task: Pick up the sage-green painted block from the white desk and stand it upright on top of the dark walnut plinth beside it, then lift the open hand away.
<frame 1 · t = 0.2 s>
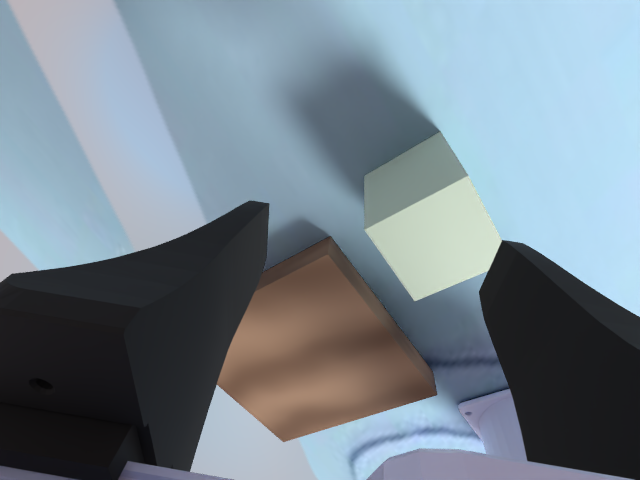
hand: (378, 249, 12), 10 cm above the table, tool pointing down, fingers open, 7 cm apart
walnut plinth: (304, 345, 28), on the table
sage block: (420, 187, 21), on the table
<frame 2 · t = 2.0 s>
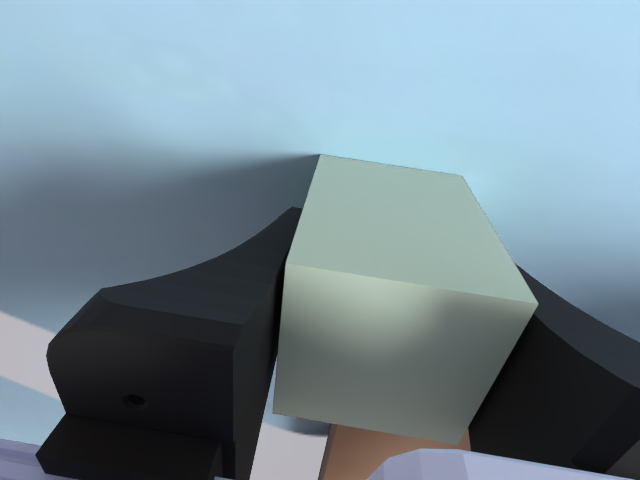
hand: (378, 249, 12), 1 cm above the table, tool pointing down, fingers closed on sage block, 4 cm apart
walnut plinth: (459, 460, 20), on the table
sage block: (376, 226, 13), on the table, touching gripper
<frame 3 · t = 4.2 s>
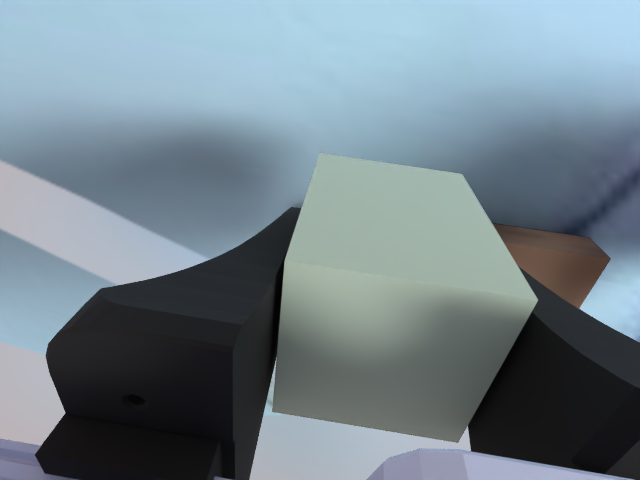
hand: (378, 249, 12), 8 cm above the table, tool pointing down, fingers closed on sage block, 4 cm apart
walnut plinth: (424, 314, 24), on the table
sage block: (376, 225, 13), point 7 cm above the table, touching gripper
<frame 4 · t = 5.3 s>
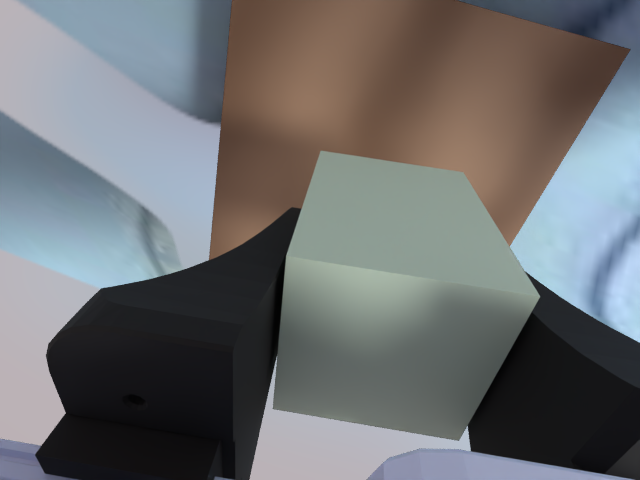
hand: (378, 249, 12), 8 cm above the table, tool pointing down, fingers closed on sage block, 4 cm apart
walnut plinth: (374, 164, 18), on the table
sage block: (377, 223, 13), point 6 cm above the table, touching gripper
when the fingers open (4 cm above the table, at t = 6.4 s): sage block stays where it is, resting on walnut plinth.
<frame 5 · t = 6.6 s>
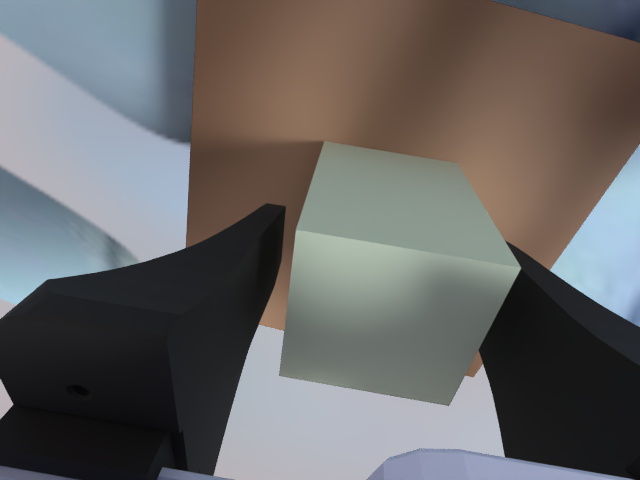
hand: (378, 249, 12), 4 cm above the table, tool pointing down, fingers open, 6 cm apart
walnut plinth: (375, 191, 15), on the table
sage block: (376, 211, 14), point 2 cm above the table, touching walnut plinth
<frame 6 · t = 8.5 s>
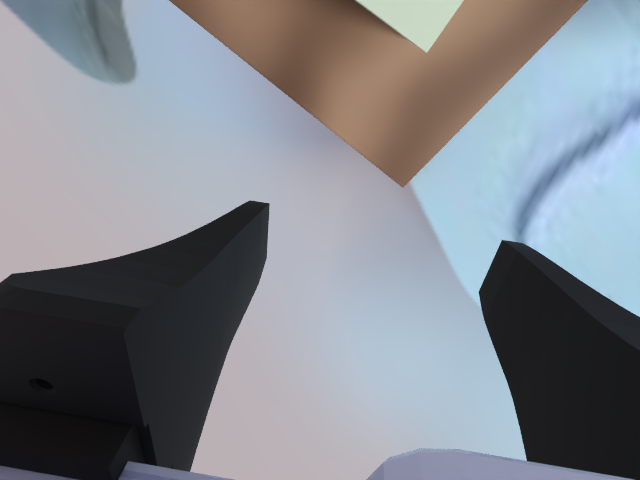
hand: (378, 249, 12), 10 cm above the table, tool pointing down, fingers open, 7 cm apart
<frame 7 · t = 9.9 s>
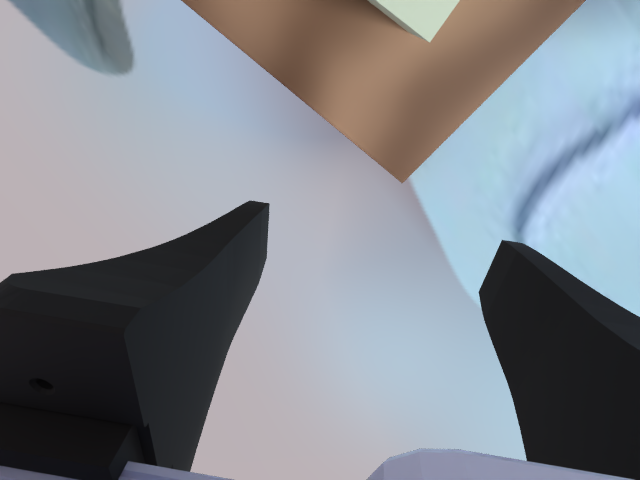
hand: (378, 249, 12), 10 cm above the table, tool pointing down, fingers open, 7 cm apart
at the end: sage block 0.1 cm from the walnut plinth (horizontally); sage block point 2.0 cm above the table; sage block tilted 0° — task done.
